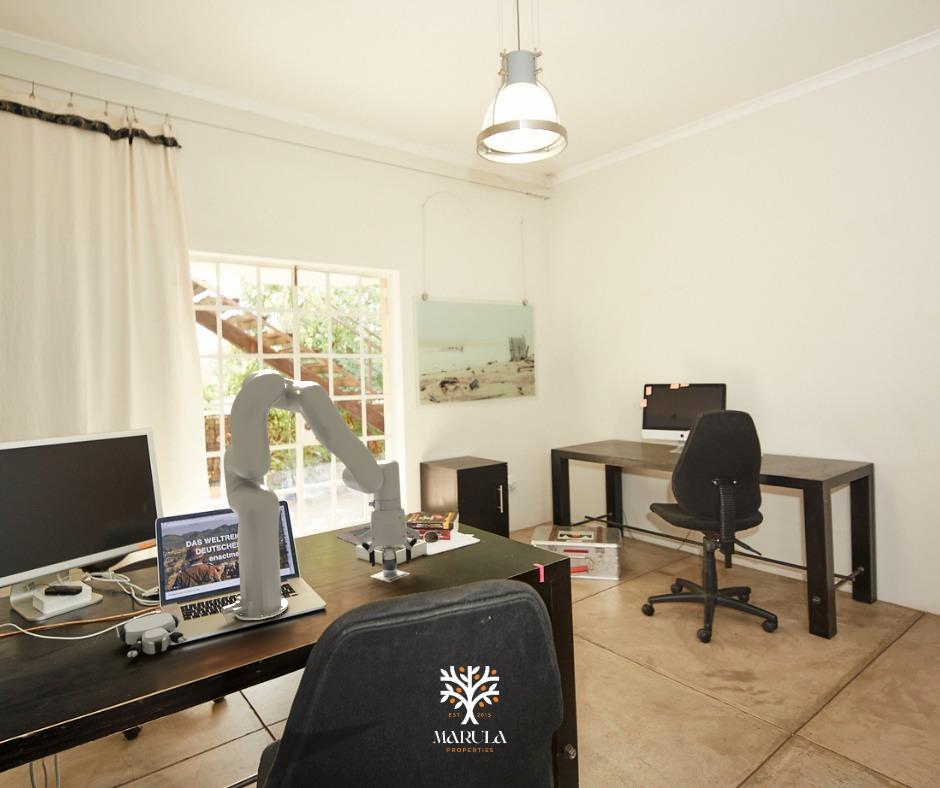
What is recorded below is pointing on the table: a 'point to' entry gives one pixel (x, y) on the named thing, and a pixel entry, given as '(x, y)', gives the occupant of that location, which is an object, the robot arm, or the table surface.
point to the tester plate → (389, 579)
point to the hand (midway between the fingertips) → (390, 563)
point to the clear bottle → (389, 561)
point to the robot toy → (151, 633)
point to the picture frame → (355, 534)
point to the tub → (401, 554)
